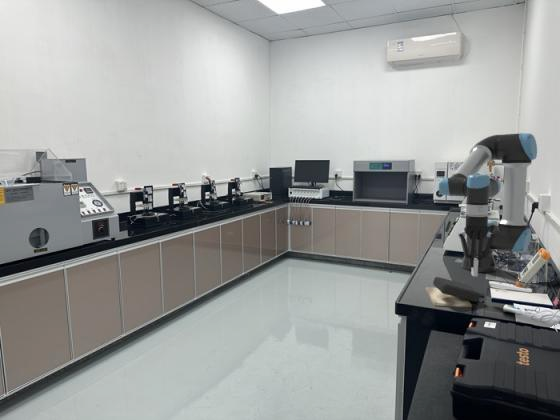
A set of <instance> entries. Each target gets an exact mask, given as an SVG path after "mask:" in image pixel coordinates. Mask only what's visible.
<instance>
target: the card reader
mask: <svg viewBox="0 0 560 420" xmlns="http://www.w3.org/2000/svg"><path fill="white" fill-rule="evenodd" d="M432 285H433V286H434V288H438V289H439V290H440V291H441V292H442V293H443V294H447V295H451V296H455V297H459V298H463V299H466V300H468V301H470V302H479V300H480V297H481V295H480V292H478V291H477V290H475V289H474V288H473V287H472V286H470V284H466V283H462V282H460V281H459V282H458V281H454V280H452V279H451V280H450V279H447V278H442V277H439V276H436V277H434V279H433V282H432Z"/></svg>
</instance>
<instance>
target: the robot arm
mask: <svg viewBox="0 0 560 420" xmlns="http://www.w3.org/2000/svg"><path fill="white" fill-rule="evenodd" d="M537 154H538V145H537V140H536V138H535V135H534V134H532V133H529V132H528V133H525V132H524V133H521V132H520V133H508V134H507V133H506V134H493V135H491V136H488V137H485V138H483V139H482V140H480V141H478V142H477V143H476V144H475V145H473V146H472V148H471V149H470V151H469V154H468V156H467V157H466V158H465V159H464V161H463V162H462V163H461V164H460V165H459V167H458V168H457V169H456V171H455V172H454V173H452V175H451V176H450V177H448V176H447V177H443V178H440V180H439V182H438V192H439V194H440V195H442V196H446V197H447V196H449V197H466V206H465V207H466V209H465V210H466V211H465V214H466V216H465V227H464V229H463V231H461V232H458V233H457V236H458V238H460V243H461V248H462V252H463V259H462V260H461V268H463V269H465V270H467V271H471V272H470V273H471V276H472V277H479V276H478V275H479V274H478V273H491V272H495V271H496V270H497V264H496V261H495V257H494V254H493V253H494V250H496V251H503V252H509V253H510V252H511V253H516V254H517V253H519V254H522V253H525V252H526V251H527V249H528V247H530V246H529V245H530V243H531V239H532V228H530V227H528V222H526V221H525V206H526V193H527V192H526V191H527V174H528V168H529V166H530V165H532V162H533V161H534V160H535V159H536V158H537V157H538V155H537ZM490 161H501V165H502V166H503V167H504V180H503V181H504V182H503V183H504V184H503V197H502V198H503V199H502V211H501V212H502V214H501V215H502V216H501V219H499V221H498V222H497V225H496V224H495V222H494V221H489V216H488V215H489V203H490V202H489V201H490V198H493V197H495V196H497V195H498V194H499V193H500V192H501V189H502V187H501V183H500V181H499V180H498V179H495V178H492V177H491V176H490V175H489V174H478V173H479V172H480V170H481V168H482V167H484V165H485V164H487V163H489V162H490Z"/></svg>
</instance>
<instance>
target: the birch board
mask: <svg viewBox="0 0 560 420" xmlns="http://www.w3.org/2000/svg"><path fill="white" fill-rule="evenodd" d="M425 291H426V293H427V295H428V297H429V299H430V300H431V302H432V305H433V306H435V307H436V306H437V307H459V308H460V307H462V308H472V303H471V301H470V300H466V299H463V298H459V297H455V296H451V295H447V294H443V293H442V292H441V291H440V290H439V289H438V288H437V287H435V286H434V287H430V286H429V287H428V286H427V287H425Z"/></svg>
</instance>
